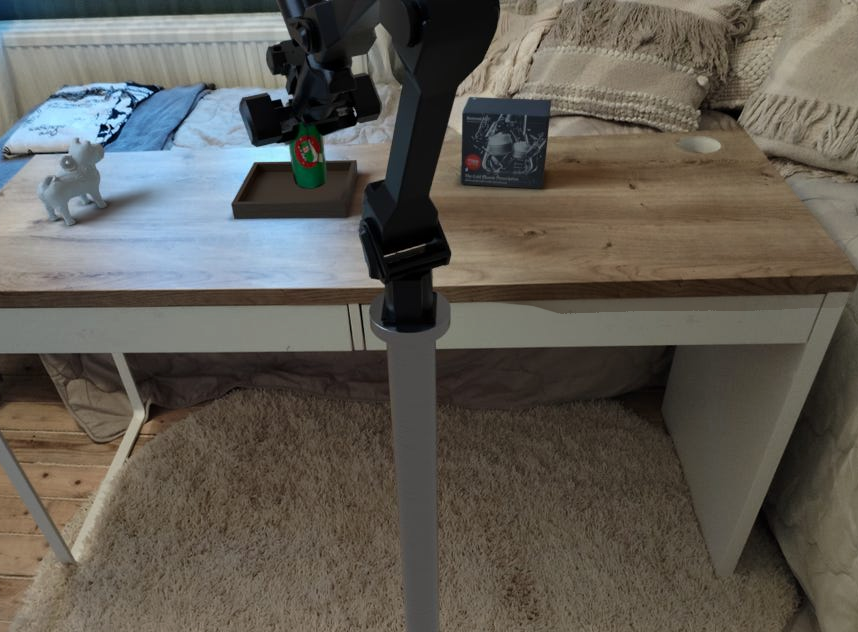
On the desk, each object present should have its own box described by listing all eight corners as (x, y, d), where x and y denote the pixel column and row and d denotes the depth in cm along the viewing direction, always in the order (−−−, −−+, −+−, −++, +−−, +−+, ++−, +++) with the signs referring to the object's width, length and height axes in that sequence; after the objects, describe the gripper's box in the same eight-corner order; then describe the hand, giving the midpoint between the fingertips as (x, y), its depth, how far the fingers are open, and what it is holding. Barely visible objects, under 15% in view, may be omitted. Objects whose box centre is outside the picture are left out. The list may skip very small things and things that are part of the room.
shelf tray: (346, 217, 108) (344, 202, 106) (234, 218, 109) (231, 203, 108) (357, 174, 120) (356, 160, 118) (256, 175, 121) (254, 162, 120)
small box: (459, 185, 114) (460, 111, 106) (465, 168, 119) (467, 96, 112) (542, 190, 111) (549, 114, 104) (545, 171, 116) (552, 98, 109)
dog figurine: (125, 195, 118) (106, 133, 112) (66, 229, 110) (42, 164, 103) (102, 190, 120) (83, 129, 114) (43, 223, 112) (17, 158, 105)
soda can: (305, 174, 109) (294, 95, 101) (334, 178, 107) (325, 98, 99) (288, 187, 105) (275, 107, 98) (317, 192, 103) (306, 110, 96)
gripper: (367, 9, 91) (342, 75, 106) (228, 33, 86) (222, 100, 101) (397, 87, 91) (368, 143, 105) (258, 116, 85) (248, 171, 100)
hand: (302, 137), depth 103 cm, fingers closed on soda can, 5 cm apart
